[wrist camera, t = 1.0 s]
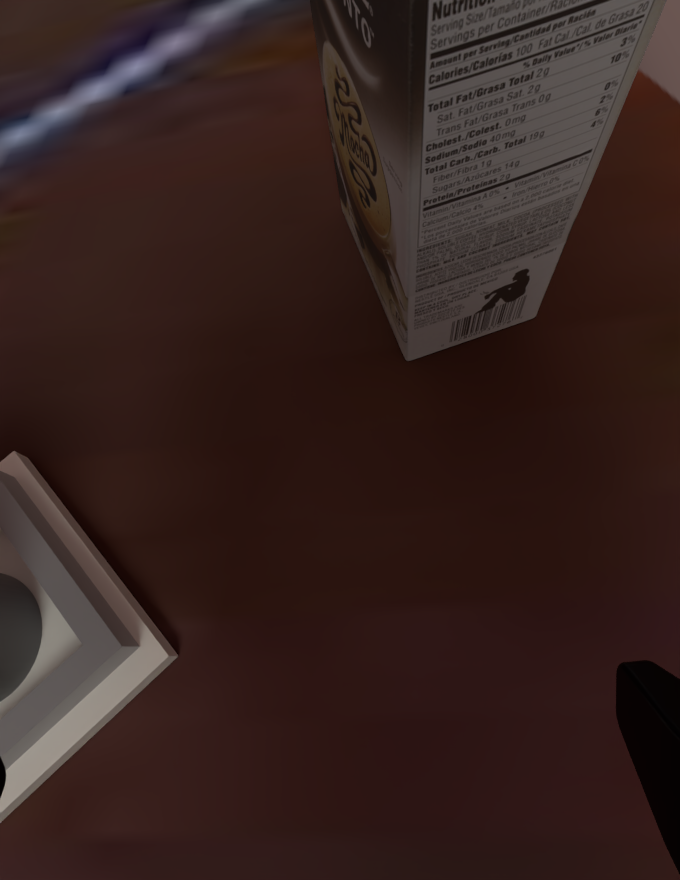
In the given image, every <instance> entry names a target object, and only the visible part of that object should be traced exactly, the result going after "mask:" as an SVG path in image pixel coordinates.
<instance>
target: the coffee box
mask: <svg viewBox="0 0 680 880" xmlns="http://www.w3.org/2000/svg"><path fill="white" fill-rule="evenodd" d="M665 3H666V0H310V5H311V11H312V18H313V25H314V31H315V37H316V43H317V50H318V56H319V62H320V69H321V76H322V82H323V89H324V95H325V103H326V110H327V117H328V124H329V130H330V136H331V142H332V148H333V156H334V162H335V169H336V175H337V182H338V188H339V194H340V200H341V206H342V210H343V213H344V215H345V218H346V220H347V223H348V225H349V228H350V230H351V233H352V235H353V237H354V240H355V242H356V244H357V247H358V249H359V251H360V254H361V256H362V258H363V261H364V263H365V265H366V268H367V270H368V272H369V275H370V277H371V279H372V282H373V284H374V287H375V289H376V292H377V294H378V297H379V299H380V301H381V304H382V306H383V308H384V311H385V313H386V316H387V318H388V320H389V323H390V325H391V327H392V330H393V332H394V335H395V337H396V339H397V342H398V344H399V347H400V349H401V351H402V354H403V356H404V358H405V360H407V361H411V360H414V359H417V358H420V357H423V356H426V355H429V354H432V353H434V352H437V351H440V350H443V349H446V348H449V347H452V346H455V345H458V344H461V343H463V342H466V341H469V340H472V339H475V338H478V337H481V336H484V335H487V334H490V333H492V332H495V331H498V330H501V329H504V328H507V327H510V326H513V325H516V324H518V323H521V322H524V321H527V320H530V319H533V318H534V317H536V315H537V313H538V310H539V307H540V305H541V302H542V300H543V297H544V295H545V292H546V290H547V288H548V285H549V283H550V280H551V278H552V275H553V273H554V270H555V268H556V265H557V263H558V261H559V258H560V256H561V254H562V251H563V248H564V246H565V243H566V241H567V239H568V236H569V234H570V231H571V228H572V226H573V224H574V222H575V220H576V217H577V214H578V212H579V210H580V207H581V205H582V203H583V200H584V198H585V195H586V193H587V191H588V188H589V186H590V184H591V181H592V179H593V176H594V174H595V171H596V169H597V167H598V164H599V162H600V159H601V157H602V154H603V152H604V150H605V147H606V145H607V142H608V140H609V138H610V135H611V133H612V130H613V128H614V126H615V123H616V121H617V118H618V116H619V114H620V111H621V109H622V106H623V104H624V102H625V99H626V97H627V94H628V92H629V90H630V87H631V85H632V82H633V80H634V78H635V75H636V73H637V70H638V68H639V66H640V63H641V61H642V58H643V56H644V53H645V51H646V48H647V46H648V44H649V41H650V39H651V37H652V34H653V32H654V29H655V27H656V24H657V22H658V19H659V17H660V15H661V12H662V10H663V8H664V5H665Z"/></svg>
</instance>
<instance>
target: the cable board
mask: <svg viewBox="0 0 680 880" xmlns="http://www.w3.org/2000/svg"><path fill="white" fill-rule="evenodd" d="M0 573H2V574H6V575H9V576H12V577H14V578H16V579H18V580H19V581H21V582H22V583H23V584H24V585H25V586H26V587H27V588H28V589H29V590H30V591H31V592H32V594H33V595H34V597H35V599H36V601H37V603H38V606H39V609H40V613H41V618H42V638H41V644H40V648H39V652H38V655H37V658H36V660H35V663H34V665H33V666H32V668H31V670H30V672H29V674H28V675H27V677H26V678H25V680H24V681H23V682H22V683H21V684H20V686H19V687H18V688H17V689H16V690H15V691H14V692H13V693H12V694H10V695H9V696H8V697H7V698H5V699H4V700H2V701H1V702H0V756H1V759H2V761H3V763H4V766H5V769H6V782H5V787H4V790H3V793H2V795H1V798H0V823H1V822H2V821H3V820H4V819H5V818H6V817H7V816H8V815H9V814H10V813H11V812H12V811H13V810H14V809H16V808H17V807H18V806H19V805H20V804H21V803H22V802H23V801H24V800H25V799H26V798H27V797H28V796H29V795H30V794H32V793H33V792H34V791H35V790H36V789H37V788H38V787H39V786H40V785H41V784H42V783H43V782H44V781H45V780H47V779H48V778H49V777H50V776H51V775H52V774H53V773H54V772H55V771H56V770H57V769H58V768H59V767H60V766H62V765H63V764H64V763H65V762H66V761H67V760H68V759H69V758H70V757H71V756H72V755H73V754H74V753H75V752H76V751H78V750H79V749H80V748H81V747H82V746H83V745H84V744H85V743H86V742H87V741H88V740H89V739H90V738H91V737H93V736H94V735H95V734H96V733H97V732H98V731H99V730H100V729H101V728H102V727H103V726H104V725H105V724H106V723H107V722H109V721H110V720H111V719H112V718H113V717H114V716H115V715H116V714H117V713H118V712H119V711H120V710H121V709H122V708H124V707H125V706H126V705H127V704H128V703H129V702H130V701H131V700H132V699H133V698H134V697H135V696H136V695H137V694H138V693H140V692H141V691H142V690H143V689H144V688H145V687H146V686H147V685H148V684H149V683H150V682H151V681H152V680H153V679H155V678H156V677H157V676H158V675H159V674H160V673H161V672H162V671H163V670H164V669H165V668H166V667H167V666H168V665H169V664H171V663H172V662H173V661H174V660H175V659H176V658H177V657H178V654H177V653H176V652H175V650H174V649H173V648H172V646H171V645H170V644H169V643H168V641H167V640H166V639H165V637H164V636H163V635H162V633H161V632H160V631H159V629H158V628H157V627H156V625H155V624H154V623H153V622H152V620H151V619H150V618H149V616H148V615H147V614H146V612H145V611H144V610H143V608H142V607H141V606H140V604H139V603H138V602H137V601H136V599H135V598H134V597H133V595H132V594H131V593H130V591H129V590H128V589H127V587H126V586H125V585H124V583H123V582H122V581H121V579H120V578H119V577H118V576H117V574H116V573H115V572H114V570H113V569H112V568H111V566H110V565H109V564H108V562H107V561H106V560H105V558H104V557H103V556H102V555H101V553H100V552H99V551H98V549H97V548H96V547H95V545H94V544H93V543H92V541H91V540H90V539H89V537H88V536H87V535H86V533H85V532H84V531H83V530H82V528H81V527H80V526H79V524H78V523H77V522H76V520H75V519H74V518H73V516H72V515H71V514H70V512H69V511H68V510H67V509H66V507H65V506H64V505H63V503H62V502H61V501H60V499H59V498H58V497H57V495H56V494H55V493H54V491H53V490H52V489H51V488H50V486H49V485H48V484H47V482H46V481H45V480H44V478H43V477H42V476H41V474H40V473H39V472H38V470H37V469H36V468H35V466H34V465H33V464H32V463H31V461H30V460H29V459H28V458H27V457H25V456H23V455H21V454H19V453H17V452H15V451H13V452H12V453H11V454H9V455H8V456H7V457H6V458H5V459H3V460H2V461H1V462H0Z"/></svg>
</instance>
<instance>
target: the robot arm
mask: <svg viewBox="0 0 680 880" xmlns="http://www.w3.org/2000/svg"><path fill="white" fill-rule="evenodd" d="M616 715H617V720H618V724H619V727H620V730H621V733H622V735H623V738H624V741H625V743H626V746H627V748H628V751H629V753H630V756H631V759H632V761H633V764H634V766H635V769H636V771H637V774H638V777H639V779H640V782H641V784H642V787H643V789H644V792H645V794H646V797H647V800H648V802H649V805H650V807H651V810H652V812H653V815H654V818H655V820H656V823H657V825H658V828H659V830H660V833H661V835H662V837H663V840H664V842H665V845H666V847H667V849H668V851H669V853H670V855H671V857H672V859H673V862H674V864H675V866H676V868H677V870H678V872H679V874H680V679H679V678H677V677H675V676H674V675H672V674H671V673H669V672H668V671H666V670H665V669H663V668H661V667H660V666H658V665H657V664H655V663H653V662H651V661H647V660H643V661H633V662H623V663H621V664H620V665H619V666H618V668H617V673H616ZM5 782H6V769H5V766H4V763H3V761H2V759H1V756H0V798H1V795H2V793H3V790H4V787H5Z"/></svg>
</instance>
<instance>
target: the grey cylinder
mask: <svg viewBox="0 0 680 880" xmlns="http://www.w3.org/2000/svg"><path fill="white" fill-rule="evenodd" d="M41 638H42V618H41V613H40V609H39V606H38V603H37V601H36V599H35V597H34V595H33V594H32V592H31V591H30V590H29V589H28V588H27V587H26V586H25V585H24V584H23V583H22V582H21V581H19V580H18V579H16V578H14V577H12V576H9V575H6V574H2V573H0V702H1V701H2V700H4V699H5V698H7V697H8V696H9V695H10V694H12V693H13V692H14V691H15V690H16V689H17V688H18V687H19V686H20V684H21V683H22V682H23V681H24V680H25V678H26V677H27V675H28V674H29V672H30V670H31V668H32V666H33V665H34V663H35V660H36V658H37V655H38V652H39V648H40V644H41Z"/></svg>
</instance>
